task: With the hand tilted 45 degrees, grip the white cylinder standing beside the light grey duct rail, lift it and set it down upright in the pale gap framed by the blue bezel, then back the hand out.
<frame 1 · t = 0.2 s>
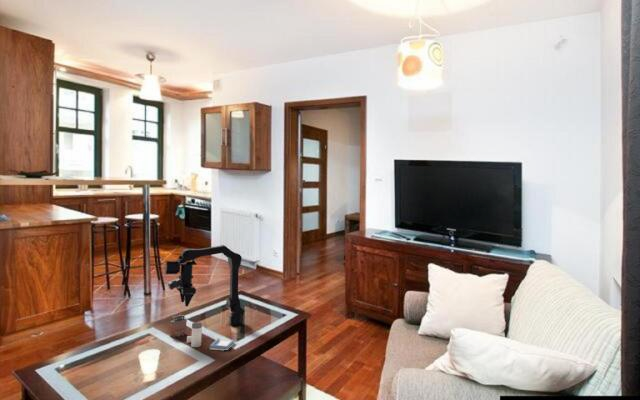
hand: (184, 304, 180), 14 cm above the table, tool pointing down, fingers open, 9 cm apart
blue bay: (222, 346, 165), on the table
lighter: (178, 335, 177), on the table
white cylinder: (196, 345, 165), on the table
duct rail: (193, 341, 169), on the table
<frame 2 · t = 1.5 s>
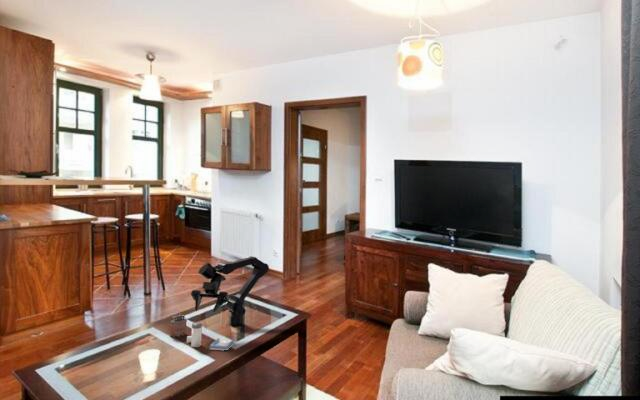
hand: (204, 311, 173), 14 cm above the table, tool tilted 45°, fingers open, 9 cm apart
nothing on the table moved.
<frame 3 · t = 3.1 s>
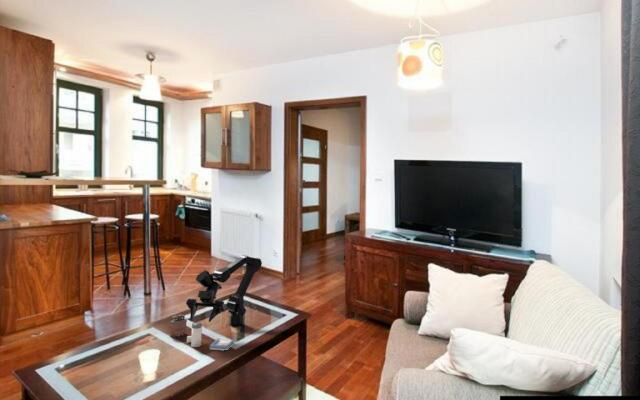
hand: (200, 320, 168), 10 cm above the table, tool tilted 45°, fingers open, 9 cm apart
nothing on the table moved.
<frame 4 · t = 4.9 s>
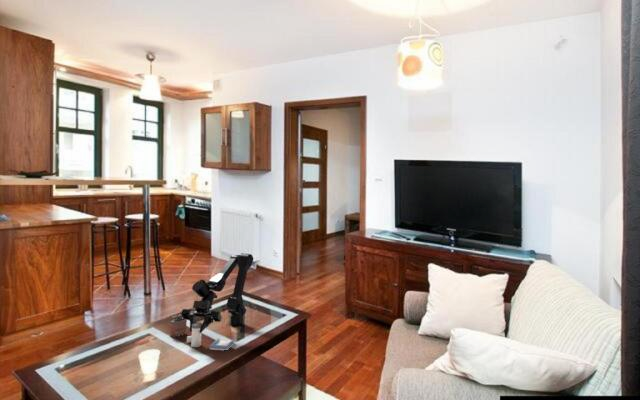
hand: (195, 332, 163), 7 cm above the table, tool tilted 45°, fingers closed on white cylinder, 4 cm apart
white cylinder: (196, 345, 165), on the table, touching gripper
everything else where it was.
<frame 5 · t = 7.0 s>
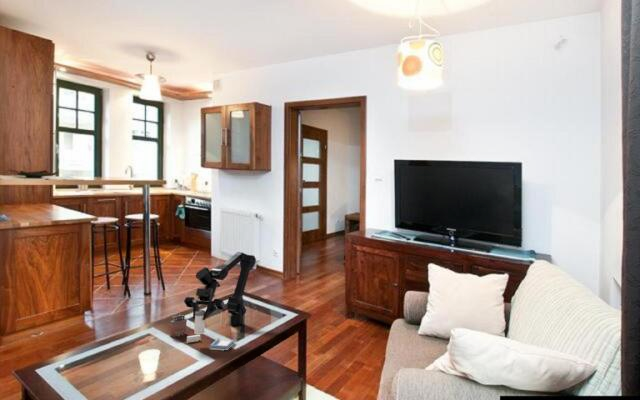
hand: (198, 319, 164), 12 cm above the table, tool tilted 45°, fingers closed on white cylinder, 4 cm apart
white cylinder: (199, 332, 165), point 6 cm above the table, touching gripper
everything else where it was.
when the fingers open (9 cm above the table, at t = 9.5 s): white cylinder drops 1 cm, resting on blue bay.
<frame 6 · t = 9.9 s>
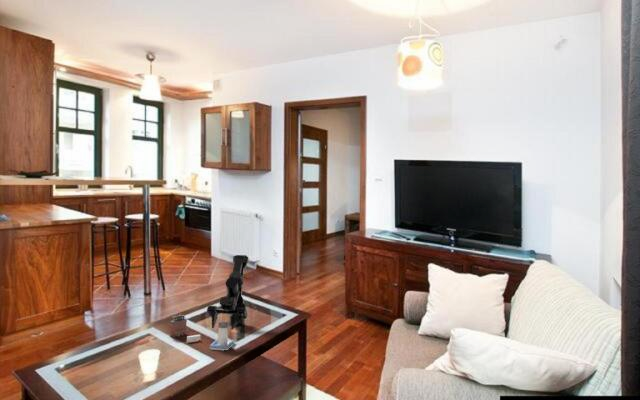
hand: (222, 328, 163), 9 cm above the table, tool tilted 45°, fingers open, 9 cm apart
white cylinder: (222, 344, 165), point 1 cm above the table, touching blue bay
everything else where it was.
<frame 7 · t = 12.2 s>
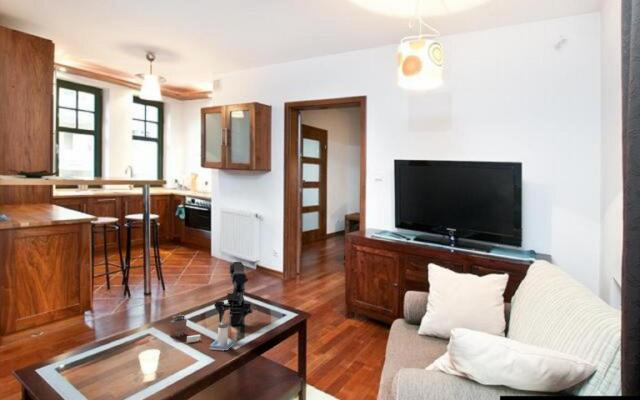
hand: (229, 322, 172), 9 cm above the table, tool tilted 45°, fingers open, 9 cm apart
nothing on the table moved.
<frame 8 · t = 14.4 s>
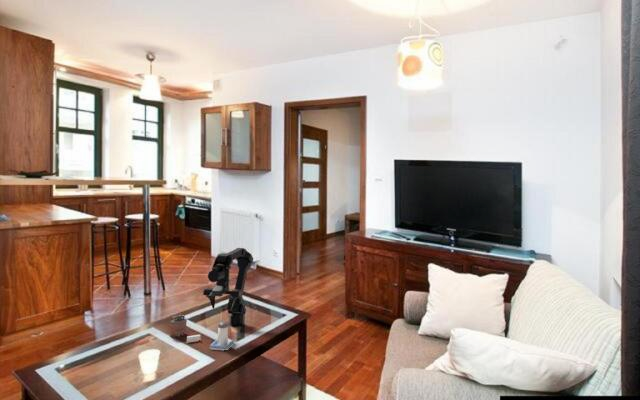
hand: (222, 309, 179), 13 cm above the table, tool pointing down, fingers open, 9 cm apart
nothing on the table moved.
at the end: white cylinder 0.1 cm off-centre on the blue bay, point 0.6 cm above the blue bay's base; white cylinder tilted 1°; the gripper is holding nothing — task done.
